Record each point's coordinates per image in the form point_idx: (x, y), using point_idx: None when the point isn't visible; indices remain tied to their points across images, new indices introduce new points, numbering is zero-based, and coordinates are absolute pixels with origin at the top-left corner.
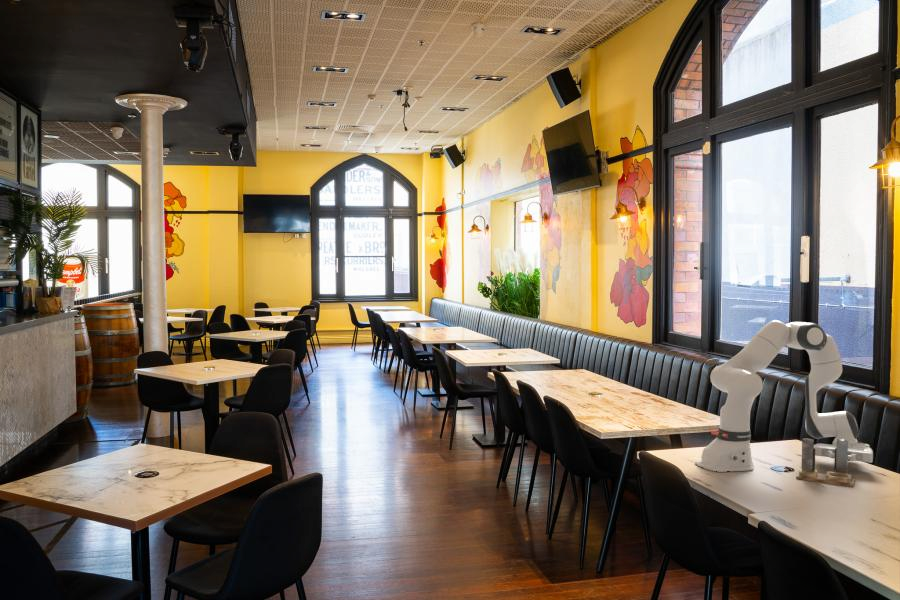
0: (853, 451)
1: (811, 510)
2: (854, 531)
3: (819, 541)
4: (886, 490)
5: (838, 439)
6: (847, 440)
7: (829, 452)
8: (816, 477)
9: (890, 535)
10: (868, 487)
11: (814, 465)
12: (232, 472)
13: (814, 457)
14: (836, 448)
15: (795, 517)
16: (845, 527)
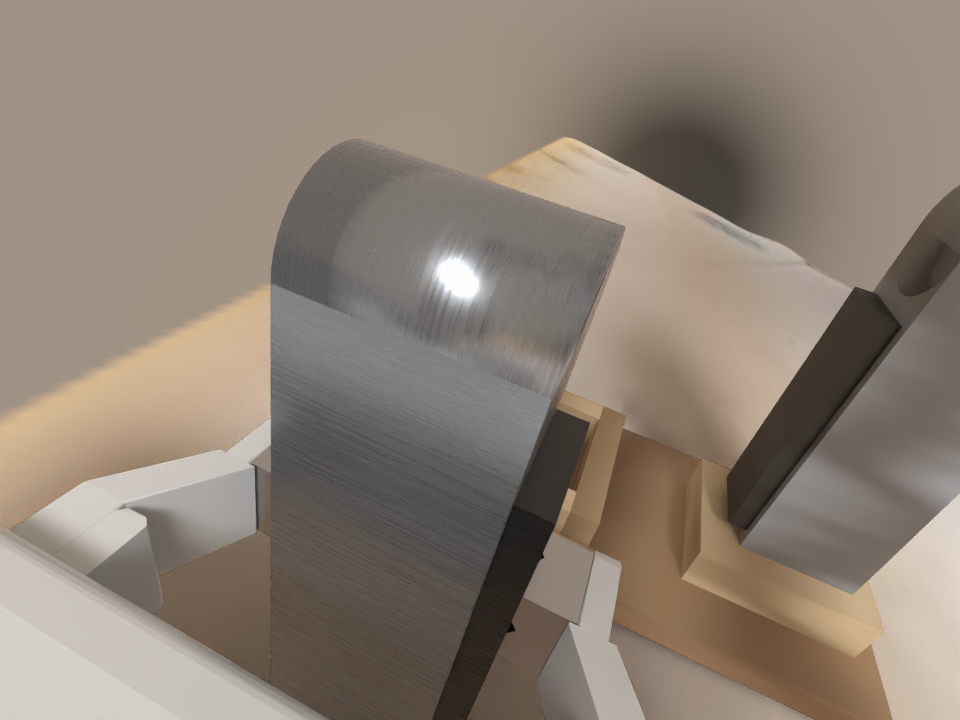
0: (14, 549)
1: (670, 249)
2: (577, 187)
3: (648, 186)
4: (233, 330)
5: (584, 217)
6: (363, 143)
7: (633, 711)
8: (681, 485)
9: (506, 168)
10: None
11: (753, 448)
12: None
13: (801, 368)
14: (547, 449)
15: (705, 235)
16: (593, 196)
